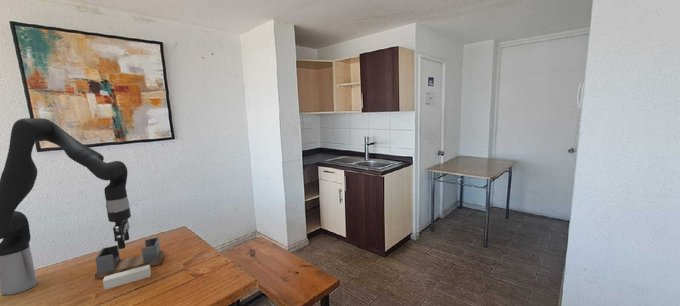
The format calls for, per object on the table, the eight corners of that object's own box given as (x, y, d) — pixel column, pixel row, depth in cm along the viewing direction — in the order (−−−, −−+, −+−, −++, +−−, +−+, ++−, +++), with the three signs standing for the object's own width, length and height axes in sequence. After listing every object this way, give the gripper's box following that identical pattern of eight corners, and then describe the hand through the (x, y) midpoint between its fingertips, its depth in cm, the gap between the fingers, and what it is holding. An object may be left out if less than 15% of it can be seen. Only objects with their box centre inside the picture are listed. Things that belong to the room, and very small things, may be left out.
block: (104, 290, 114) (102, 281, 114) (105, 285, 117) (104, 276, 117) (150, 276, 123) (149, 268, 122) (150, 272, 126) (149, 264, 125)
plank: (95, 279, 121) (94, 275, 121) (102, 267, 131) (101, 263, 131) (161, 263, 133) (161, 259, 132) (163, 253, 142) (163, 249, 142)
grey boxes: (98, 274, 122) (95, 258, 121) (104, 262, 131) (102, 248, 130) (158, 260, 132) (156, 245, 131) (160, 250, 141) (158, 237, 140)
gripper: (111, 205, 120) (117, 239, 123) (102, 215, 108) (108, 253, 110) (132, 202, 124) (137, 235, 126) (125, 211, 111) (131, 249, 114)
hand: (124, 244), depth 118 cm, fingers open, 8 cm apart
